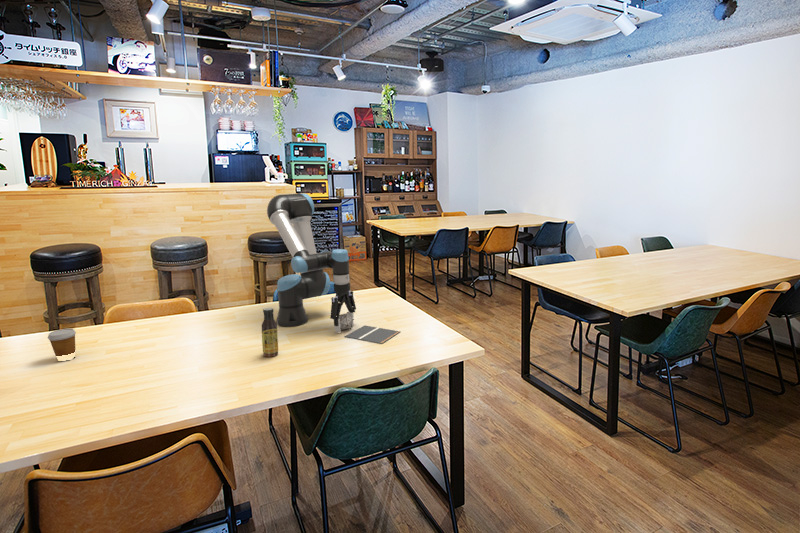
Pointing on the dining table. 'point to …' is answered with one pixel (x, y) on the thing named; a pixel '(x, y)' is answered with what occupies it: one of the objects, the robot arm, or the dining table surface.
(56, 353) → the disposable coffee cup
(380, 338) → the lane mat
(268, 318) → the sauce bottle
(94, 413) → the dining table surface
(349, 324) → the game die
